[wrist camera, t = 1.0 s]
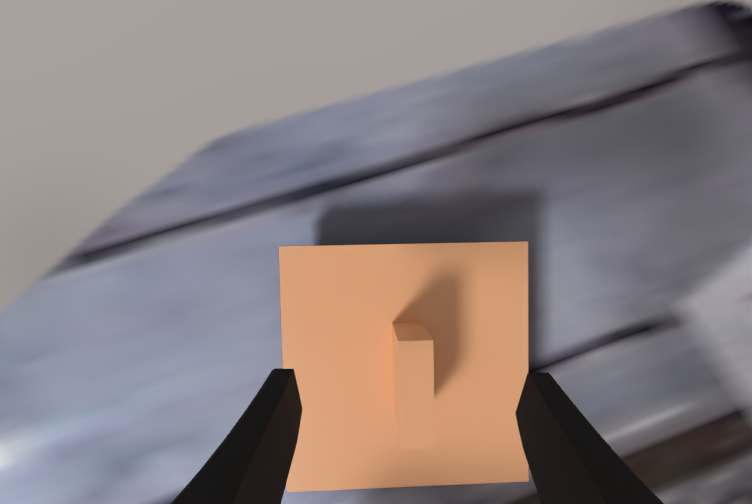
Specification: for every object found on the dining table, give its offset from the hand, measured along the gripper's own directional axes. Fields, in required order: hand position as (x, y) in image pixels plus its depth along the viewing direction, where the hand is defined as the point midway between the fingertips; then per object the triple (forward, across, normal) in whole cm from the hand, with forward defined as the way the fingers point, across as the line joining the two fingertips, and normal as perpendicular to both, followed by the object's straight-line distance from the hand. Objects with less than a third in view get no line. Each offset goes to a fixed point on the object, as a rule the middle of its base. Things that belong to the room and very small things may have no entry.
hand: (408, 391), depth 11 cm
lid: (+7, 0, +6) cm, 9 cm away
